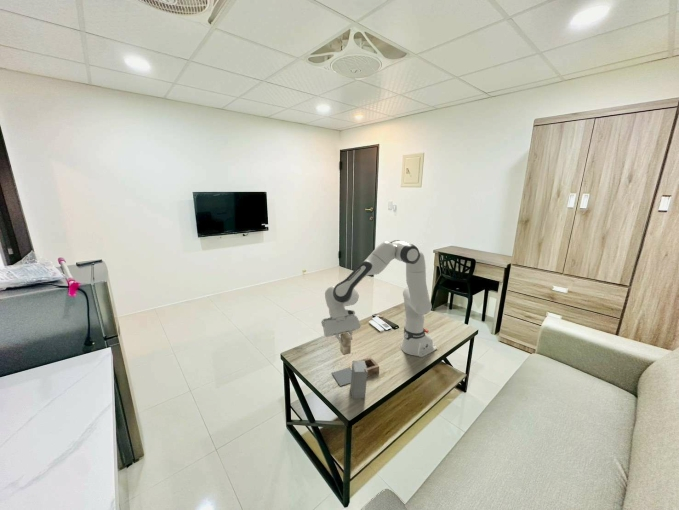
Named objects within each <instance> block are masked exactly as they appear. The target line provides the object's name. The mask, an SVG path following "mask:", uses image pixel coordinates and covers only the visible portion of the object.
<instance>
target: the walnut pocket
mask: <svg viewBox="0 0 679 510" xmlns="http://www.w3.org/2000/svg"><path fill="white" fill-rule="evenodd" d="M358 361H365V364H366V366H367V367H366V368H367V372H368V373H367V377H370V376H373V375H376V374H379V373H380V366H379V364H378V363H377V362H376V361H375V360H374V359H373V358H372V357H371V356H370V357H367V358H363V359H360V360H358Z"/></svg>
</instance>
